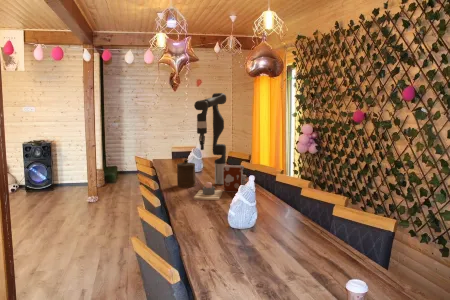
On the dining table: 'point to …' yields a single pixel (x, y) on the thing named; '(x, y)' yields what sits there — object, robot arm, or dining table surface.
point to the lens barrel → (208, 190)
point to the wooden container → (186, 174)
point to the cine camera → (233, 177)
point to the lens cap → (208, 185)
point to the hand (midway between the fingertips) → (202, 149)
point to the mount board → (208, 197)
